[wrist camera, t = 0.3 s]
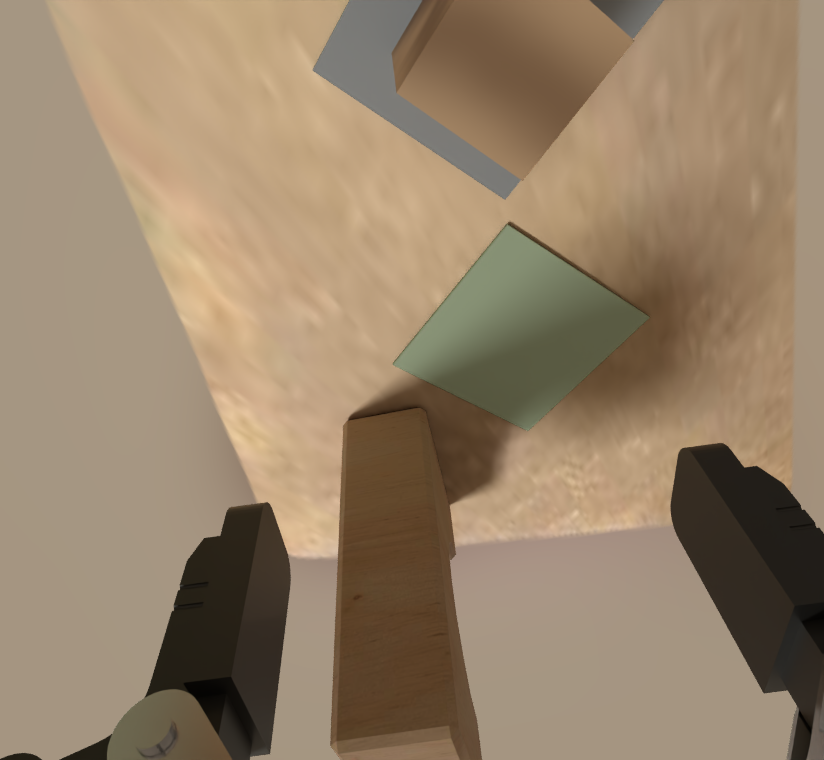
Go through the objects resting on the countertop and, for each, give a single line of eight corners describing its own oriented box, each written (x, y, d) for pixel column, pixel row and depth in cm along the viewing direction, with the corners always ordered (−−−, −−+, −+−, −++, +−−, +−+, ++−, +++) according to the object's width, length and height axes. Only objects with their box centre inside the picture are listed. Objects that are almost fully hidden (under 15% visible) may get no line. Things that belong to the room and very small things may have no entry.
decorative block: (450, 507, 48) (489, 815, 32) (377, 518, 48) (381, 828, 33) (427, 402, 41) (463, 733, 25) (341, 416, 41) (327, 751, 26)
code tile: (463, -216, 22) (464, -216, 22) (671, -12, 26) (672, -11, 26) (312, 69, 27) (312, 70, 27) (504, 198, 32) (505, 200, 32)
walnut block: (476, -91, 24) (502, -79, 19) (587, 8, 26) (634, 40, 22) (391, 52, 27) (396, 93, 22) (498, 130, 29) (522, 180, 25)
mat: (507, 223, 33) (507, 224, 33) (648, 316, 37) (649, 317, 37) (392, 363, 38) (392, 365, 38) (527, 429, 43) (528, 431, 43)
